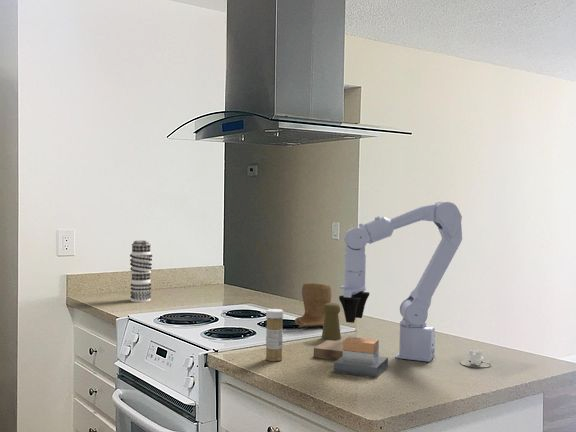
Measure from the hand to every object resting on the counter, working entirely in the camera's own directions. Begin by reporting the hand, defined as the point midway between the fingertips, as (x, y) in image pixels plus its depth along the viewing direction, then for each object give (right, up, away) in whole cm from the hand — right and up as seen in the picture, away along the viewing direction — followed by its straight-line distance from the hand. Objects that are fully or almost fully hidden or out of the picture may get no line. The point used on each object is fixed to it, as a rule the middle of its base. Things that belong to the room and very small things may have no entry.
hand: (354, 320), depth 173 cm
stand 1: (-4, -10, +1) cm, 11 cm away
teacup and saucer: (+34, -11, -7) cm, 37 cm away
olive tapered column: (-5, -10, +22) cm, 24 cm away
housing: (0, -8, -14) cm, 16 cm away
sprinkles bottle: (-22, -10, -6) cm, 25 cm away
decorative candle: (-80, -7, +89) cm, 120 cm away
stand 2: (0, -10, -14) cm, 18 cm away
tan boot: (-9, -9, +41) cm, 43 cm away
